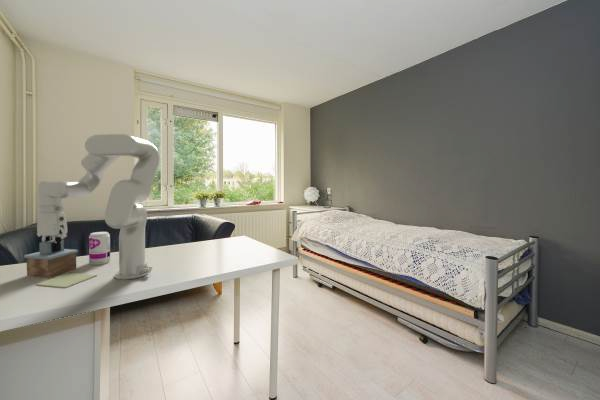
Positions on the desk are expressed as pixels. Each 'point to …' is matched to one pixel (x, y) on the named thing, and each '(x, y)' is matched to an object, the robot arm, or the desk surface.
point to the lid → (50, 251)
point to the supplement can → (99, 248)
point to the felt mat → (66, 280)
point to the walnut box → (51, 266)
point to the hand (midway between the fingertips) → (52, 250)
